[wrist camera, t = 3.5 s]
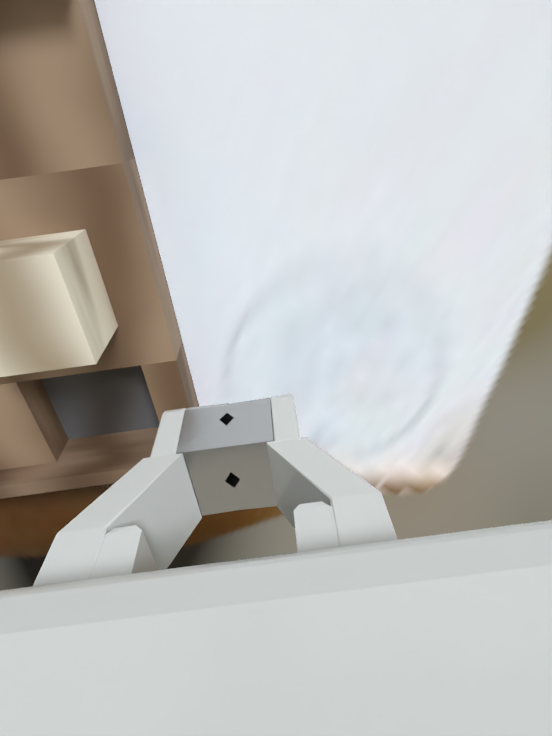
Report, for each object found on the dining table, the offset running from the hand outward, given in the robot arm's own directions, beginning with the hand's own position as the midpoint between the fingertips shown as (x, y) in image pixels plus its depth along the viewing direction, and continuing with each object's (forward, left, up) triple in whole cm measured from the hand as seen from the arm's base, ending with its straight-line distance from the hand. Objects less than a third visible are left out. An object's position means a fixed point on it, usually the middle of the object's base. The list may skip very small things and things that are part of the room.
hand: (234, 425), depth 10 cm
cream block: (-9, 0, -13) cm, 16 cm away
